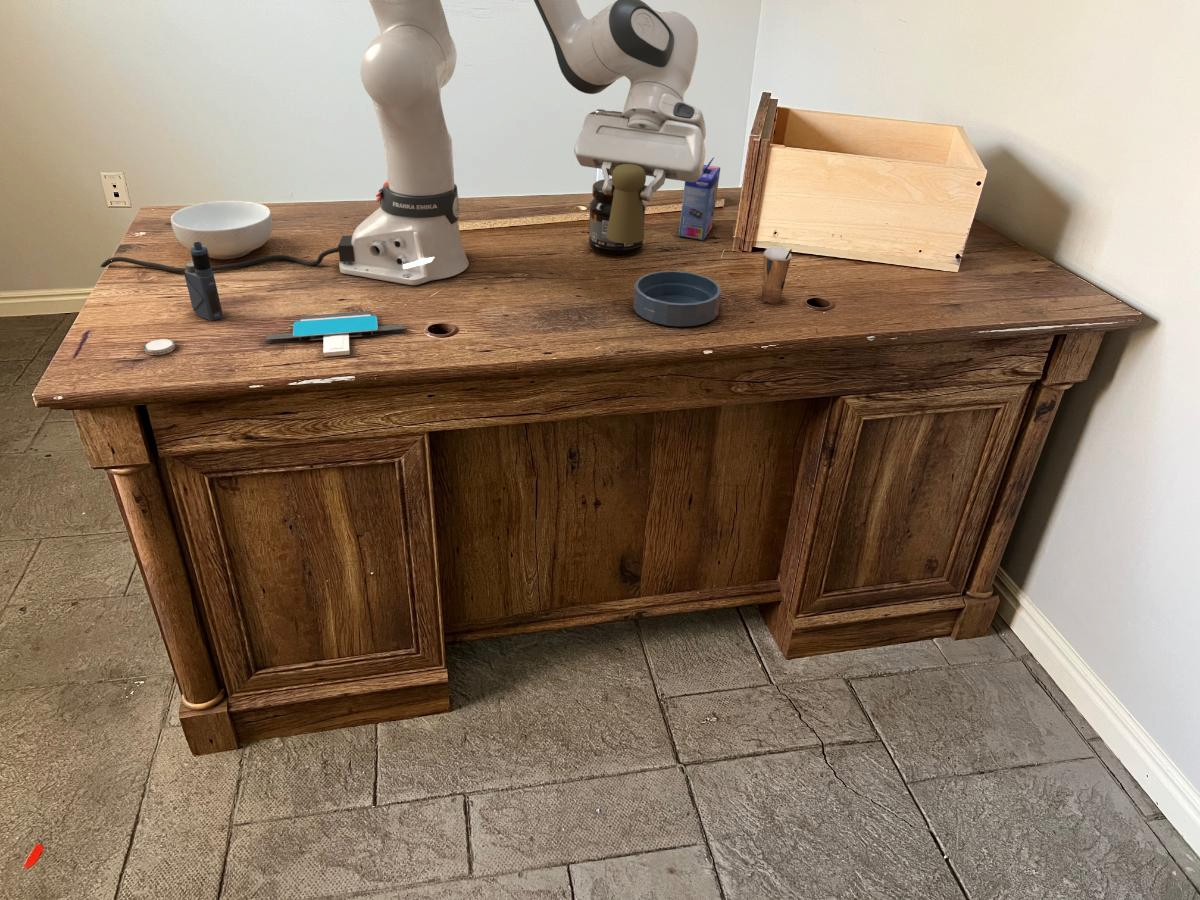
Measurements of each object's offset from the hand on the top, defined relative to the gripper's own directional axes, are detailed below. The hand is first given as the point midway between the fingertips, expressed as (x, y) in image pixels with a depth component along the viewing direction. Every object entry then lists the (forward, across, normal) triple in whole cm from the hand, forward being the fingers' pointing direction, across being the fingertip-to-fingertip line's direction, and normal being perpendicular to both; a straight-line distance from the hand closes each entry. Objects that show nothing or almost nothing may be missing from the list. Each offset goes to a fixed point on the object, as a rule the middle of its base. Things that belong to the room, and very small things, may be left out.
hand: (626, 196), depth 131 cm
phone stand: (+33, -35, -6) cm, 49 cm away
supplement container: (-5, -10, +31) cm, 33 cm away
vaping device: (+34, -58, -7) cm, 68 cm away
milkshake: (+3, +23, +23) cm, 32 cm away
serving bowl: (+11, +9, +15) cm, 21 cm away
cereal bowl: (+18, -73, +9) cm, 76 cm away
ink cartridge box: (-16, +2, +43) cm, 46 cm away
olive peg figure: (+4, 0, +5) cm, 7 cm away
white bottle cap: (+43, -56, -16) cm, 72 cm away
